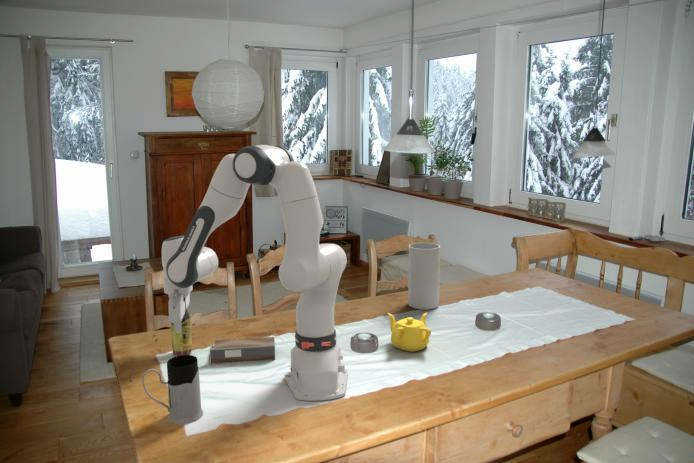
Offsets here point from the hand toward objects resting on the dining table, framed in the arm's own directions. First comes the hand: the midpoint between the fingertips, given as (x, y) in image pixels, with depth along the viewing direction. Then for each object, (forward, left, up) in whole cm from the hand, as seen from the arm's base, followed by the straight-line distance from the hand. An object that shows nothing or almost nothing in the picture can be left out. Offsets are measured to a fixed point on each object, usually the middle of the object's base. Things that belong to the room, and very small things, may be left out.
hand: (180, 326), depth 183 cm
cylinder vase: (+35, -91, -9) cm, 98 cm away
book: (-2, -20, -9) cm, 22 cm away
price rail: (-10, -20, -8) cm, 23 cm away
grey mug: (-42, -4, -9) cm, 43 cm away
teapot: (-5, -75, -9) cm, 76 cm away
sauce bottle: (0, 0, -9) cm, 9 cm away
